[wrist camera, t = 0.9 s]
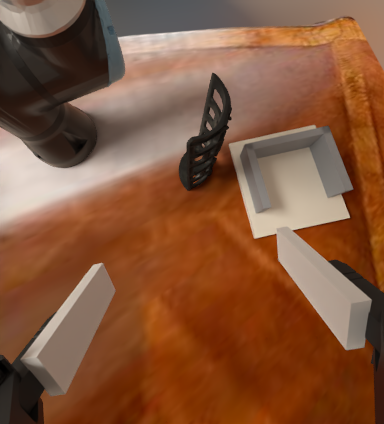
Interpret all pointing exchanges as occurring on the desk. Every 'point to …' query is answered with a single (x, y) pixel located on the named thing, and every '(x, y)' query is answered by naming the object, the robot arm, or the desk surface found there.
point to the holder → (206, 138)
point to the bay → (291, 179)
